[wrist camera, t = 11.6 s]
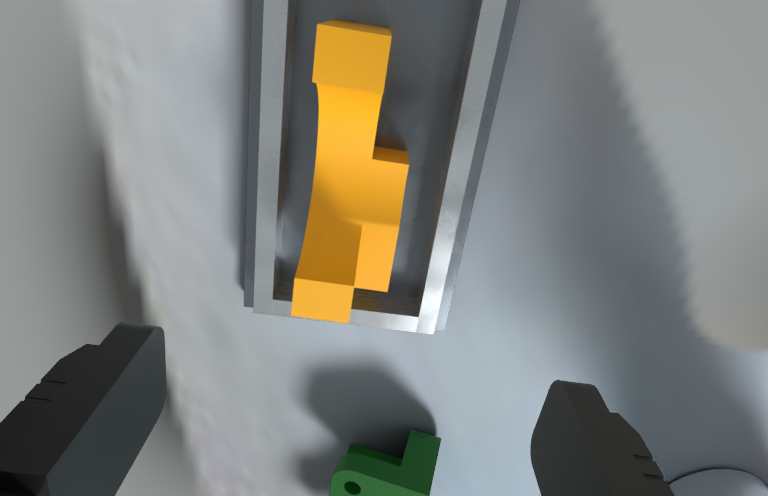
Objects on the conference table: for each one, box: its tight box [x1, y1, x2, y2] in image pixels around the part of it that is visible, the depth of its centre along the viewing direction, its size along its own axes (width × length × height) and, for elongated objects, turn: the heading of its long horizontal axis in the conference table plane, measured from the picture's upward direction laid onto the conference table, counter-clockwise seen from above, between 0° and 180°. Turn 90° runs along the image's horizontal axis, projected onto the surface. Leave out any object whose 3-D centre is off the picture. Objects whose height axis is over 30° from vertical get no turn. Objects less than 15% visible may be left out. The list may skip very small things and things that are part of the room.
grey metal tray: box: [244, 0, 520, 334], centre depth 25 cm, size 12×20×3 cm, turn 172°
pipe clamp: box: [291, 19, 409, 324], centre depth 23 cm, size 12×4×6 cm, turn 171°
